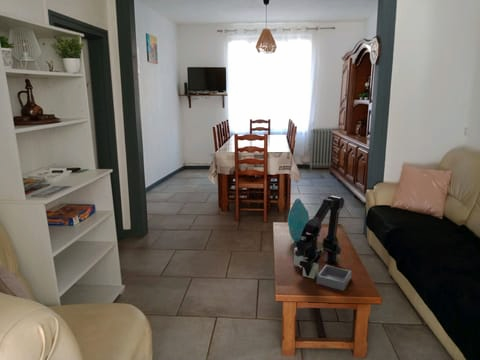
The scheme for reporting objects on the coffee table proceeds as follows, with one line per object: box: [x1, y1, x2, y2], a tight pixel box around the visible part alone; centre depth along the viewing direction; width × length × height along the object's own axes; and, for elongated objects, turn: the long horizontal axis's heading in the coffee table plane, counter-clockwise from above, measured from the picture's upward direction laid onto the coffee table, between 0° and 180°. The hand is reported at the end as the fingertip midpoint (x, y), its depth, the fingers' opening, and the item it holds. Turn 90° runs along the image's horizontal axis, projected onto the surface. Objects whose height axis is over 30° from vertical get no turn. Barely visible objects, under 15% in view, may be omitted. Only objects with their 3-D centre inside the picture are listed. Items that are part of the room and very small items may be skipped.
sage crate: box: [302, 263, 319, 280], centre depth 194 cm, size 6×6×6 cm
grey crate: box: [316, 264, 352, 292], centre depth 188 cm, size 14×14×4 cm
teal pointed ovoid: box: [287, 197, 310, 243], centre depth 233 cm, size 12×14×30 cm
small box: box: [293, 246, 308, 267], centre depth 206 cm, size 8×6×10 cm
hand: (310, 272), depth 194 cm, fingers open, 9 cm apart
